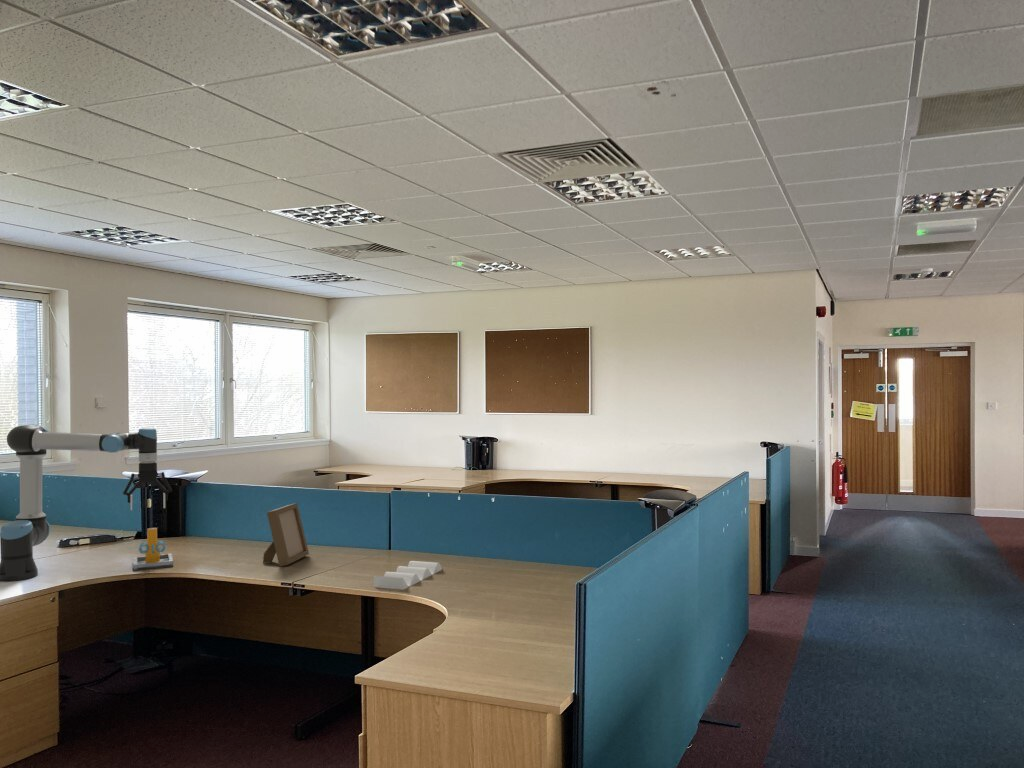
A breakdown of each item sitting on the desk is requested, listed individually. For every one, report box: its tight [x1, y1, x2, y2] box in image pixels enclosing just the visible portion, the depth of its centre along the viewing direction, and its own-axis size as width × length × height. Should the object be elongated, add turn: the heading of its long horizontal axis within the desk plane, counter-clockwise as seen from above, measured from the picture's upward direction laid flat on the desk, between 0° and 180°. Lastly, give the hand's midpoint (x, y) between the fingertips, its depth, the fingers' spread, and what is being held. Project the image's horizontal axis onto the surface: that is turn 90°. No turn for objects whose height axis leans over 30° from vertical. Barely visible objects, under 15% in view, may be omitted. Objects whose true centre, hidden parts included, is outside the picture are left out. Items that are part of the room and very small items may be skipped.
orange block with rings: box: [138, 527, 166, 563], centre depth 357 cm, size 12×10×15 cm
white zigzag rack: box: [373, 560, 443, 591], centre depth 324 cm, size 13×35×5 cm, turn 159°
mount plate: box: [133, 553, 174, 571], centre depth 357 cm, size 16×18×2 cm
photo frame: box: [262, 502, 310, 567], centre depth 359 cm, size 15×22×25 cm
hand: (148, 508), depth 358 cm, fingers open, 13 cm apart
